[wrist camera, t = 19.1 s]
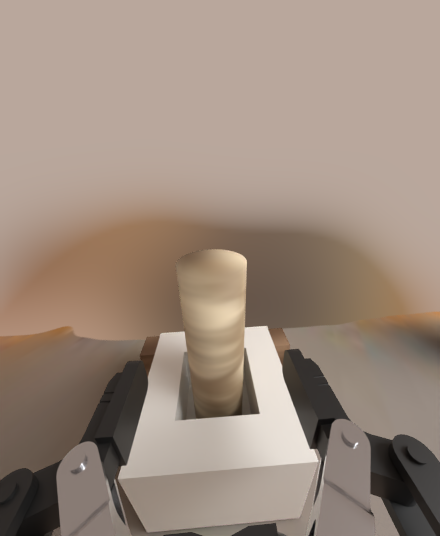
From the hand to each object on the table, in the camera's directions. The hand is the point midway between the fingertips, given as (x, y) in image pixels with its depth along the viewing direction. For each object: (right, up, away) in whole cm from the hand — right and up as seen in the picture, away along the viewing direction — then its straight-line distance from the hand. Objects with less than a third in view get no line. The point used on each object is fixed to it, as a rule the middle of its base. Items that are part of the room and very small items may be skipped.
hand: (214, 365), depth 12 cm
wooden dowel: (0, -8, +8) cm, 12 cm away
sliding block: (0, -12, +10) cm, 16 cm away
